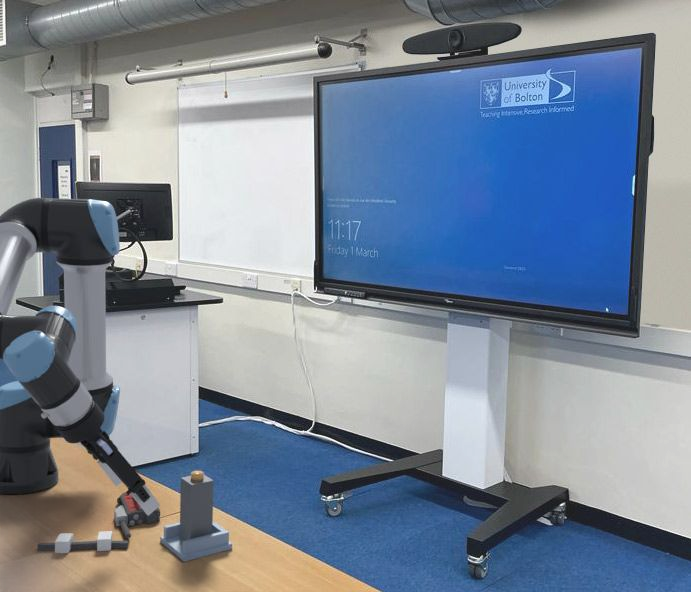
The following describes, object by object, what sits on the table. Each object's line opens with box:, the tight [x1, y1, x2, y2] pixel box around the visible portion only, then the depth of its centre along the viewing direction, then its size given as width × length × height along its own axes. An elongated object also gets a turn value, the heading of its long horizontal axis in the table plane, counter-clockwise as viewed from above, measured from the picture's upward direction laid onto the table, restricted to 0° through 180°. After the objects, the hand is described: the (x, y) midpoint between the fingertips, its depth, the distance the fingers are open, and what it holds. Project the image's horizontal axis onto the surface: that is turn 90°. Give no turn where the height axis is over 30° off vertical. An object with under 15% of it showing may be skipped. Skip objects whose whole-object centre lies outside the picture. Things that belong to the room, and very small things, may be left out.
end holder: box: [159, 520, 233, 563], centre depth 145 cm, size 10×10×3 cm
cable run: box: [36, 530, 130, 554], centre depth 142 cm, size 4×16×2 cm, turn 102°
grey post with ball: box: [179, 470, 214, 541], centre depth 145 cm, size 4×4×13 cm
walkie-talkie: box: [113, 491, 161, 539], centre depth 156 cm, size 9×4×20 cm
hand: (137, 494), depth 140 cm, fingers open, 13 cm apart
